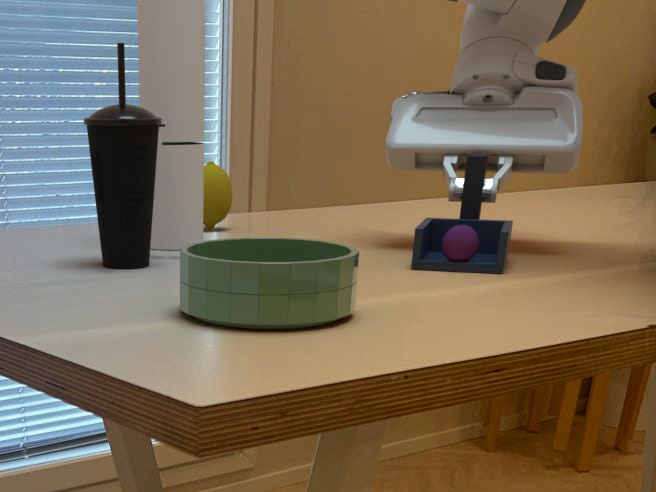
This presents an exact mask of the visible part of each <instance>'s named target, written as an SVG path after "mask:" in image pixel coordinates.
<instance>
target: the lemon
mask: <svg viewBox="0 0 656 492" xmlns="http://www.w3.org/2000/svg"><path fill="white" fill-rule="evenodd" d="M232 204H233V186H232V181H231V179H230V175H229V174H228V173H227V172H226V170H225V169H224V168H222V167H221V166H219V165H217V164H216V163H215V162H214V161H212V160H209V161H208V162H207V163H206V164H204V204H203V226H204V227H205V228H206V229H207V230H211V231H212V230H213V229H214V228H215V227H216V225H218V224H219V223H221V222H223V221H224V220H225V219H226V218H227V216H228V215H229V213H230V210H231V209H232Z"/></svg>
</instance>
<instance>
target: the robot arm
mask: <svg viewBox="0 0 656 492" xmlns="http://www.w3.org/2000/svg"><path fill="white" fill-rule="evenodd" d="M447 1H449V2H453V3H457V2H460V3H465V4H467V6H466V9H465V14H464V19H463V21H462V22H463V23H462V25H461V31H460V37H459V46H460V51H459V53H458V55H457V57H456V59H455V63H454V66H453V72H452V78H451V82H450V89H449V90H430V91H421V90H410V91H408V92H407V94H404V95H401V96H399V97H397V98H396V99H395V98H394V101H393V103H392V106H391V108H390V109H391V110H390V114H389V119H390V125H389V128H388V131H387V134H386V137H385V144H384V145H385V146H384V155H385V156H384V157H385V162H386V165H388V167H389V168H390V169H391V170H392V171H401V172H402V171H403V172H407V171H408V172H409V171H411V172H442V178H443V180H444V183H445V185H447V187H448V200H447V201H448V202H449V203H450V202H453V203H454V202H455V203H456V202H459V203H461V202H462V195H463V185H464V177H458V176H457V175H458V172H459V173H463V172H464V173H465V169H466V160H467V156H468V155H469V154H481V155H488V160H487V168H486V173H495V175H494V176H492V178H485V179H484V185H483V189H482V201H481V202H482V203H484V204H488V203H489V204H494V203H495V204H496V202H497V196H498V192H499V191H500V190H502V188H503V187H504V186H505V185H506V184H507V183H508V182H509V181H510V180H511V177H512V174H552V175H554V174H555V175H568V174H570V173H571V172H572V171H574V170H575V169H576V168H577V167H578V166H579V162H580V161H579V160H580V156H581V155H580V154H581V150H582V144H583V143H582V142H583V134H584V133H583V132H584V112H583V104H582V100H581V98H580V96H579V94H578V81H579V80H578V78H579V77H578V69H576V67H574V66H572V65H569V64H565V63H561V62H557V61H553V60H550V59H546V58H543V57H541V56H538V52H539V50H540V48H541V45H542V44H544V43H545V44H546V43H549V42H551V41H552V40H553V39H555V38H556V37H558V36H559V35H560V34H561V33H563V32H564V31H565V30H566V29H567V28H568V27H569V26H571V24H572V23H573V22H574V21H575V20H576V18H577V17H578V16H579V14H580V12H581V11H582V9H583V7H584V6H585V4H586V1H587V0H447Z"/></svg>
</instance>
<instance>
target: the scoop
mask: <svg viewBox="0 0 656 492" xmlns="http://www.w3.org/2000/svg"><path fill="white" fill-rule="evenodd" d="M487 160H488V155H481V154H469V155H468V156H467V160H466V169H465V172H464V176H463V178H464V185H463V195H462V202H460V211H459V218H447V217H425V218H424V219H423V220H422V221H421V222H420V223H419V224H418V225H416V227H415V228H414V235H413V243H412V244H413V245H412V254H411V255H412V256H411V263H410V264H411V266H410V269H411V270H417V271H418V270H419V271H434V272H435V271H438V272H458V273H479V274H496V275H498V274H499V275H502V274H504V272H505V268H506V265H507V262H508V259H509V252H510V246H511V245H510V244H511V239H512V238H511V237H512V233H513V232H512V231H513V224H514V220H510V219H509V220H508V219H507V220H506V219H505V220H504V219H481V212H482V207H483V206H482V205H483V202H481V201H482V189H483V185H484V179H486V175H487V172H486V168H487ZM457 225H467V226H469V227H471V228H473V229H474V230H475V232H476V233H477V235H478V238H479V246H478V250H477V252H476V254H475V255H474V256H473V257H472V258H471V259H470V260H468V261H466V262H455V261H449V260H448V259H447V258H446V257H445V256H444V254H443V251H442V241H443V238H444V236H445V234H446V233H447V232H448V231H449V230H450V229H451V228H453V227H455V226H457Z"/></svg>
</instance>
